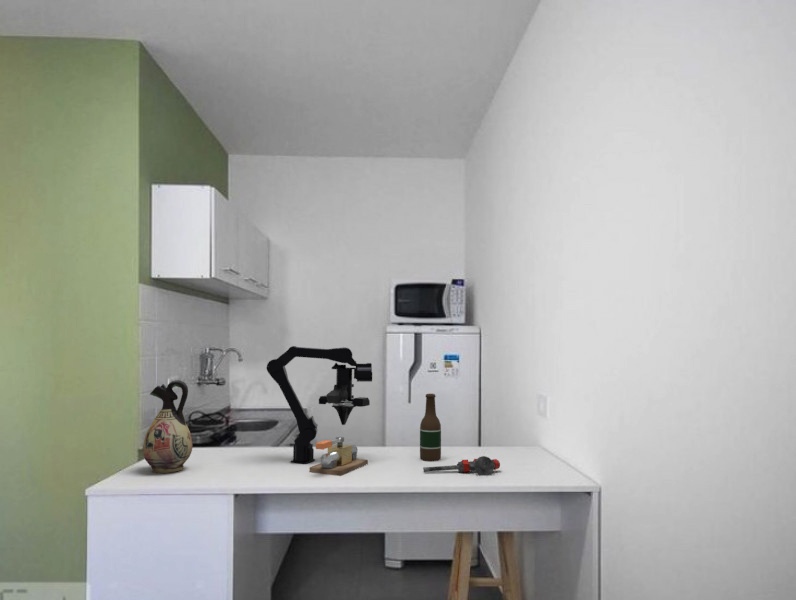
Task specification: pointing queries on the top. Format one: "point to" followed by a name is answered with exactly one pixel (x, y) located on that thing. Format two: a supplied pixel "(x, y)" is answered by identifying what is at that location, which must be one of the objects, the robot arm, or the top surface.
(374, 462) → the top surface
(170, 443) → the ceramic jug
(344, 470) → the valve base
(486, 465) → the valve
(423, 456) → the beer bottle
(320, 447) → the lever
